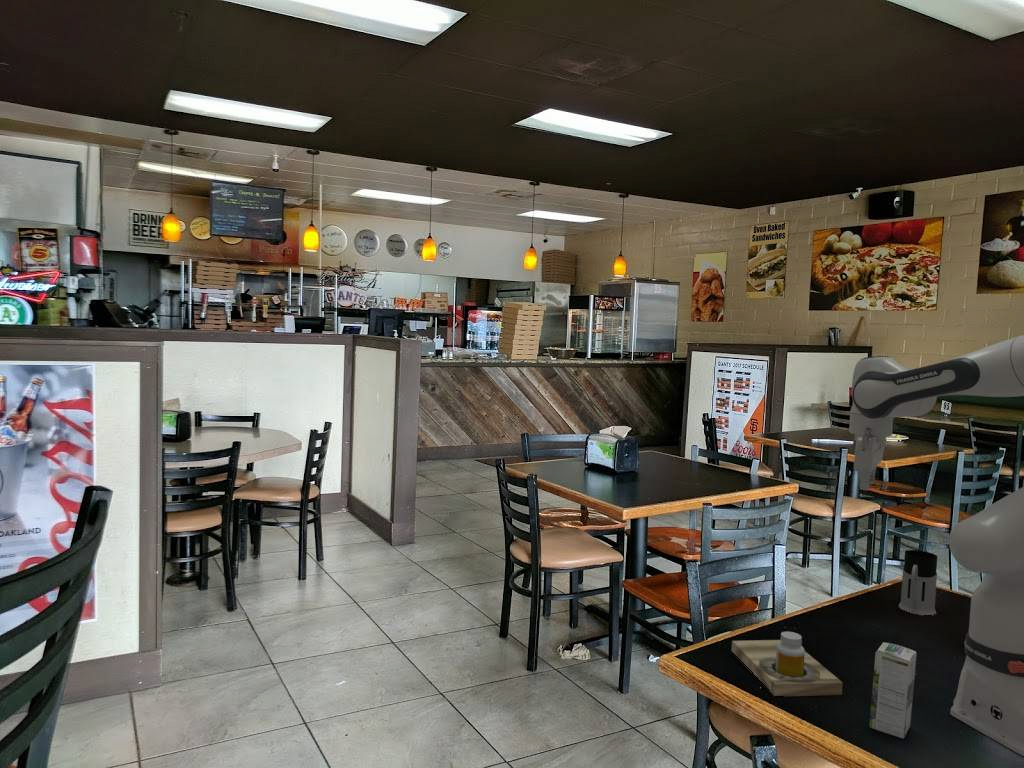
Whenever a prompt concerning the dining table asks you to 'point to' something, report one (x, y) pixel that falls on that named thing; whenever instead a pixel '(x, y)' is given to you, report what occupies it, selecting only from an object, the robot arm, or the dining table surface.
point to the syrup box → (893, 689)
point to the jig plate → (763, 664)
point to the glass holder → (919, 582)
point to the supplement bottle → (790, 655)
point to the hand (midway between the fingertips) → (866, 486)
